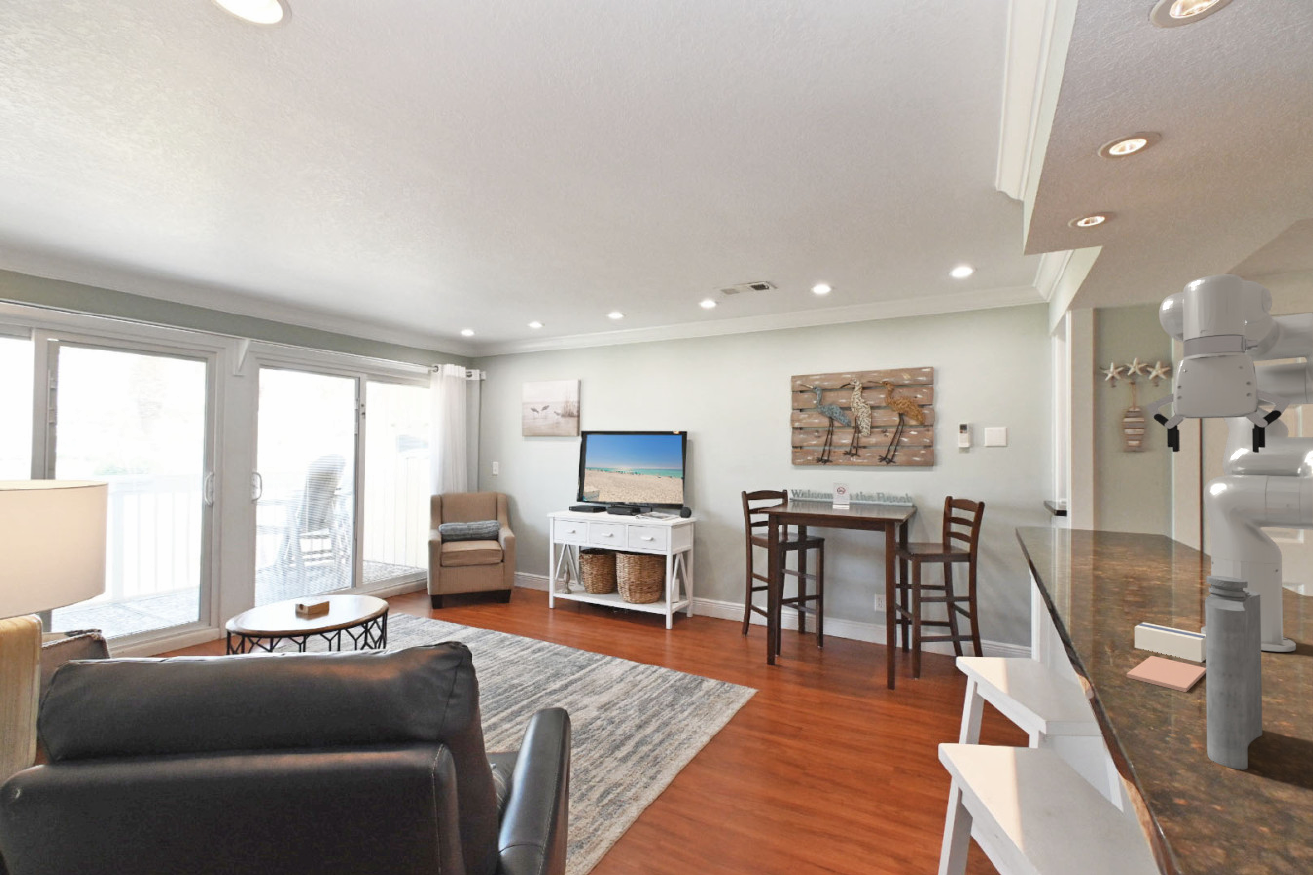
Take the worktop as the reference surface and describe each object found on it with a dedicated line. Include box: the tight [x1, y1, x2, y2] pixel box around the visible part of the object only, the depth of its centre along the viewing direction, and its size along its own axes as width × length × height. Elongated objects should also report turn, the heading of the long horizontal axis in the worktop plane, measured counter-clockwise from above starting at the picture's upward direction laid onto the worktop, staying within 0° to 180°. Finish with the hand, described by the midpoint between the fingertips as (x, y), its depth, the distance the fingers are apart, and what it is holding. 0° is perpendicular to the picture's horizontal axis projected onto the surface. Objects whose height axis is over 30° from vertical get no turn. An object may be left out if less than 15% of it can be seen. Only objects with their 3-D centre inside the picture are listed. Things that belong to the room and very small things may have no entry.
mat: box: [1126, 655, 1206, 693], centre depth 92 cm, size 14×7×1 cm, turn 127°
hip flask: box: [1204, 575, 1263, 770], centre depth 70 cm, size 16×4×20 cm, turn 129°
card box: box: [1134, 622, 1206, 663], centre depth 103 cm, size 5×9×4 cm, turn 36°
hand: (1214, 452), depth 97 cm, fingers open, 9 cm apart
